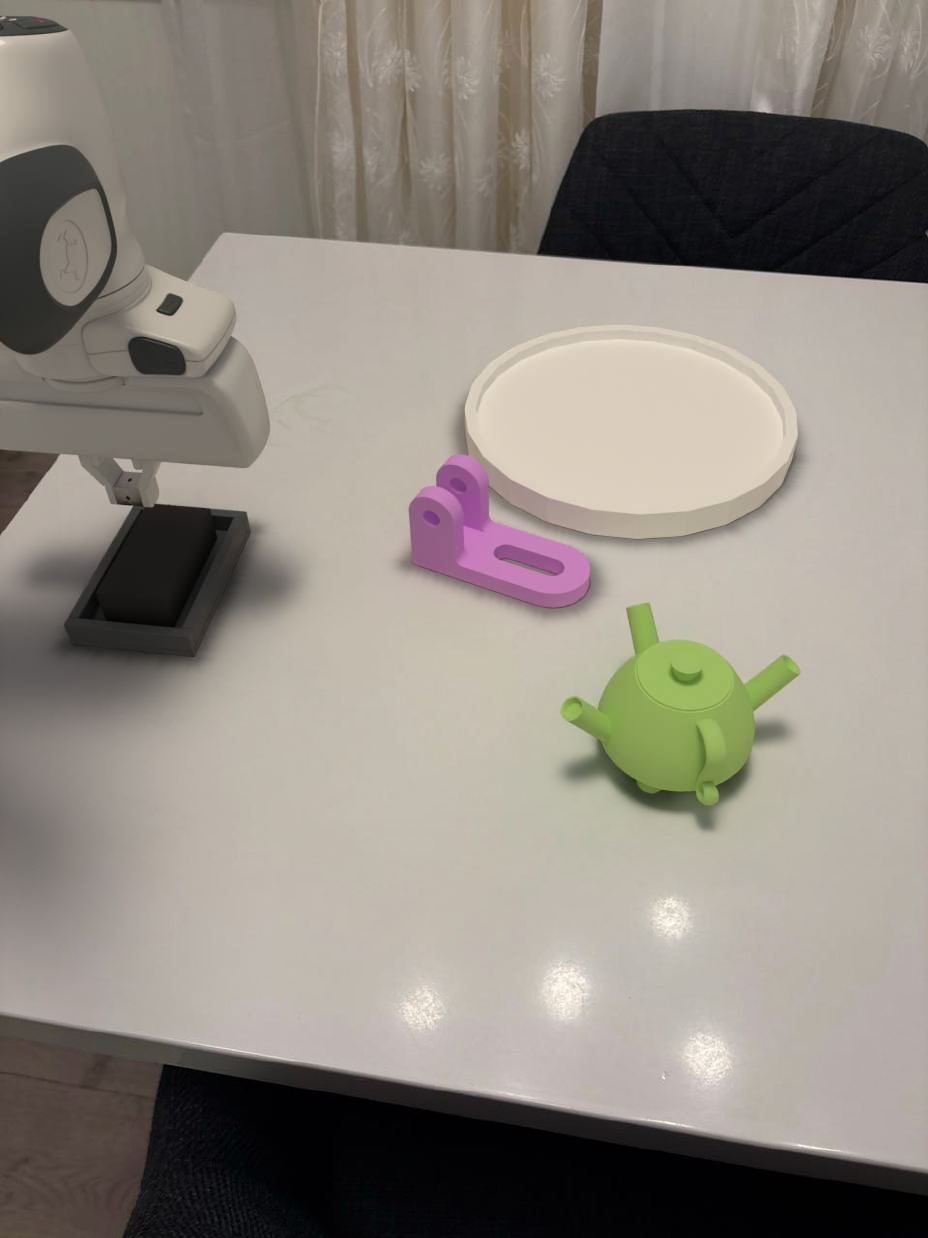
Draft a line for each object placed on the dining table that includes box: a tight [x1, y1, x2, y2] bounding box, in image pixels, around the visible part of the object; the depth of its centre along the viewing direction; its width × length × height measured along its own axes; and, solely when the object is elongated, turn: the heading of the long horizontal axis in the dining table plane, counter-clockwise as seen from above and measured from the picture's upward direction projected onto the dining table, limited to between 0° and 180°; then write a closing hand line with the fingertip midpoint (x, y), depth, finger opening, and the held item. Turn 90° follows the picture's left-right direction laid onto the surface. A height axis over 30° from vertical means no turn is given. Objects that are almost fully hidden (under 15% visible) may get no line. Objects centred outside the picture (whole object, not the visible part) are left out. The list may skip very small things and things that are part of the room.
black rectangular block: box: [96, 503, 217, 628], centre depth 77 cm, size 10×5×3 cm, turn 171°
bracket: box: [408, 453, 591, 609], centre depth 76 cm, size 13×6×7 cm, turn 63°
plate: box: [463, 324, 799, 540], centre depth 89 cm, size 28×28×2 cm
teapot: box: [560, 602, 801, 806], centre depth 63 cm, size 11×12×8 cm
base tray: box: [63, 506, 252, 658], centre depth 77 cm, size 14×9×2 cm
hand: (136, 500), depth 72 cm, fingers closed
